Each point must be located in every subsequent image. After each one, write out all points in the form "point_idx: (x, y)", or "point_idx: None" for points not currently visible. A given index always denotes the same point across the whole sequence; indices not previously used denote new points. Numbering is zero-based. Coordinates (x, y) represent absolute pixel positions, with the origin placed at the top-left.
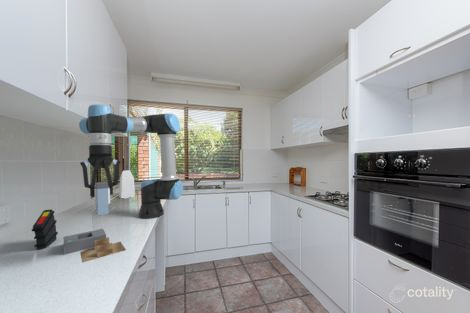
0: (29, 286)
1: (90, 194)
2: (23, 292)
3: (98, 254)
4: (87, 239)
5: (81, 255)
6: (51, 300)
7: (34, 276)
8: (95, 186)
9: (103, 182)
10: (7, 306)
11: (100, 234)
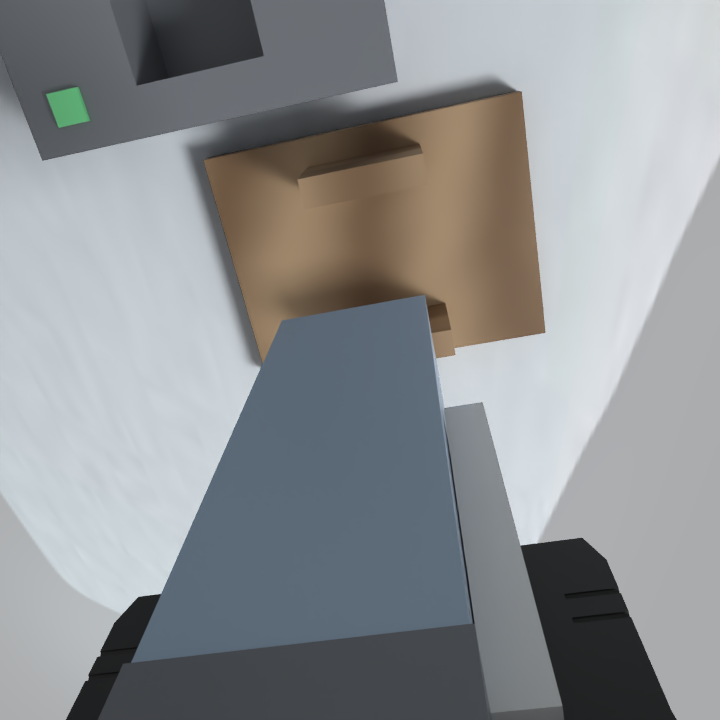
0: (73, 470)
1: (111, 660)
2: (75, 511)
3: None
4: (227, 119)
5: (231, 249)
6: None
7: (38, 370)
8: (106, 714)
9: None
10: (71, 583)
11: (336, 35)
